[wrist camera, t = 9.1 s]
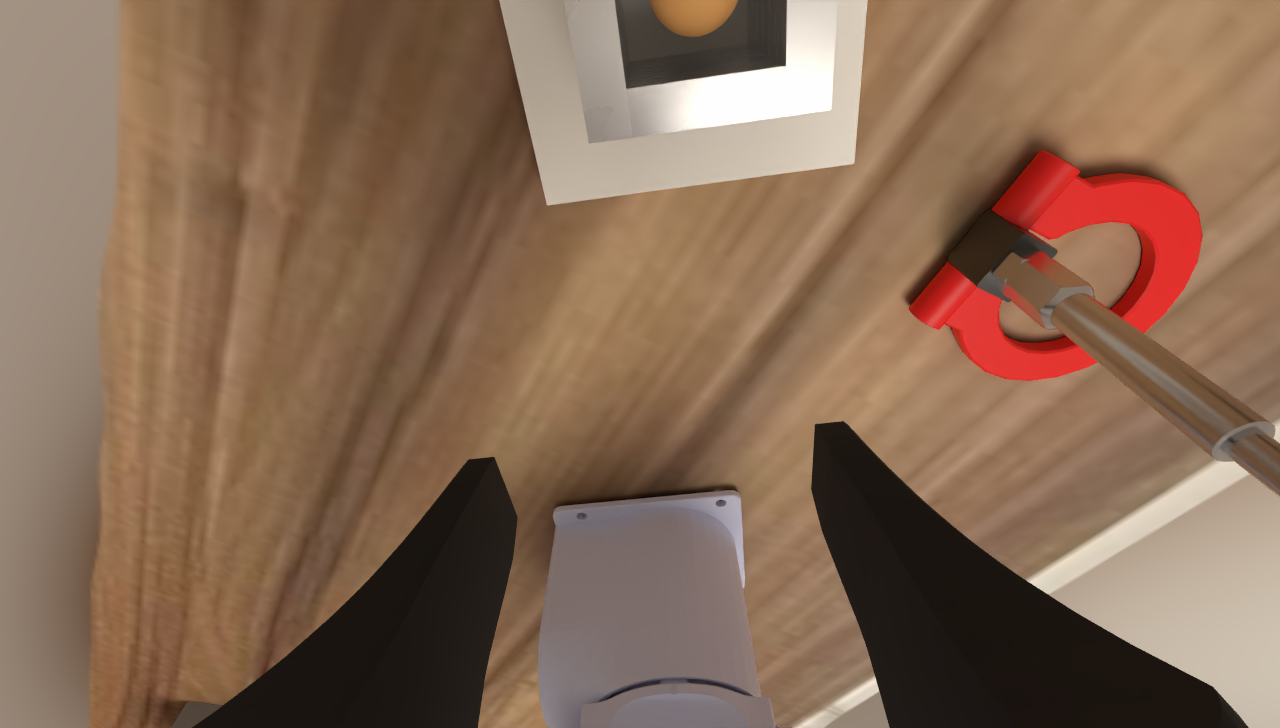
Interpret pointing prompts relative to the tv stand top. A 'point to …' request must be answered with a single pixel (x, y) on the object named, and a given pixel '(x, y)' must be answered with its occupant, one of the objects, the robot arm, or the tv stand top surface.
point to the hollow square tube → (703, 71)
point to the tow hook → (1092, 302)
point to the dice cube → (194, 714)
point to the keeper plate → (661, 26)
